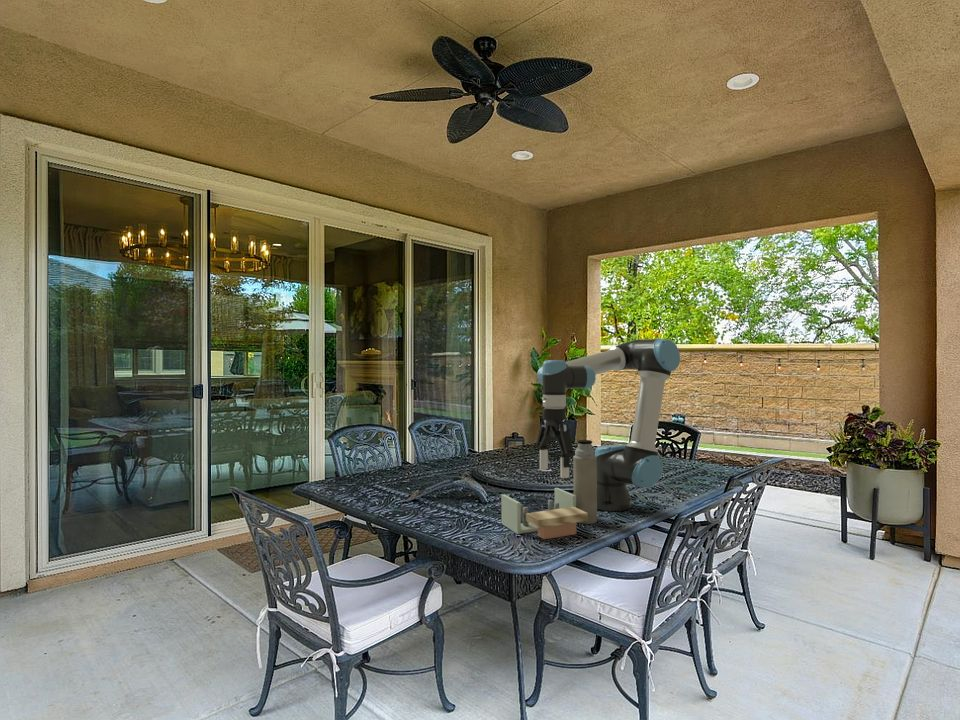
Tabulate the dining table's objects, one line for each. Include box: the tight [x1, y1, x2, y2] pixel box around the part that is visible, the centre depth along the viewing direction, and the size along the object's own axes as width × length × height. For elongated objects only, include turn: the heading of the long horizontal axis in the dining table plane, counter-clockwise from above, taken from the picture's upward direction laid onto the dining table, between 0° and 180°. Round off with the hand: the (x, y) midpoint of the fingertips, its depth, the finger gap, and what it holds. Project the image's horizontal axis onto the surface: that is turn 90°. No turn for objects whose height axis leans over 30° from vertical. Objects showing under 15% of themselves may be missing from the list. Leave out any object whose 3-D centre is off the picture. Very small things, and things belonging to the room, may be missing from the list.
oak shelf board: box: [526, 507, 588, 528], centre depth 175 cm, size 18×8×2 cm, turn 113°
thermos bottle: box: [572, 439, 598, 525], centre depth 190 cm, size 8×8×28 cm
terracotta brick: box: [537, 522, 577, 540], centre depth 175 cm, size 12×4×4 cm, turn 113°
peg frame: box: [500, 487, 576, 535], centre depth 186 cm, size 22×12×10 cm, turn 113°
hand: (553, 473), depth 175 cm, fingers open, 13 cm apart
